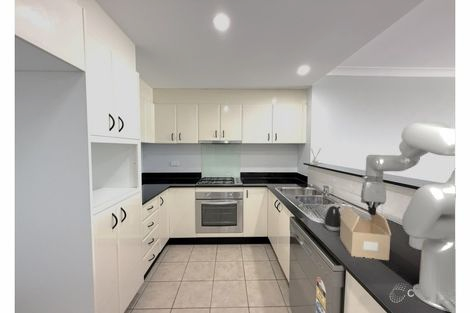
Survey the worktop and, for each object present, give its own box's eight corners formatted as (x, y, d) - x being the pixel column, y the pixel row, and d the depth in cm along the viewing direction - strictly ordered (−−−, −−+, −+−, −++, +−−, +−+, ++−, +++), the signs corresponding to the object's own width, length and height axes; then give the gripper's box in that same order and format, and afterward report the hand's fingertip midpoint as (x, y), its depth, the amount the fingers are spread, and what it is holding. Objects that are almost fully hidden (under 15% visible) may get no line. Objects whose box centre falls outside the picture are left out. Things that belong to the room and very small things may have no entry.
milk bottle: (421, 251, 106) (424, 213, 105) (405, 244, 114) (407, 208, 113) (432, 250, 109) (434, 212, 107) (415, 243, 116) (418, 207, 115)
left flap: (340, 217, 120) (339, 217, 120) (346, 205, 119) (345, 204, 119) (352, 231, 101) (351, 231, 101) (359, 217, 100) (358, 216, 100)
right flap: (390, 235, 98) (391, 235, 97) (384, 218, 98) (386, 218, 98) (372, 220, 117) (373, 220, 117) (367, 206, 117) (368, 206, 117)
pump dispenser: (345, 231, 130) (346, 207, 129) (333, 234, 126) (334, 209, 125) (332, 225, 140) (333, 203, 139) (320, 227, 136) (321, 204, 135)
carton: (388, 260, 98) (390, 236, 97) (351, 256, 101) (352, 232, 101) (370, 241, 118) (371, 220, 117) (339, 238, 121) (340, 218, 120)
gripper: (360, 179, 104) (358, 215, 105) (394, 181, 101) (392, 218, 102) (355, 177, 112) (353, 211, 113) (386, 178, 109) (384, 213, 110)
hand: (371, 214), depth 108 cm, fingers closed
